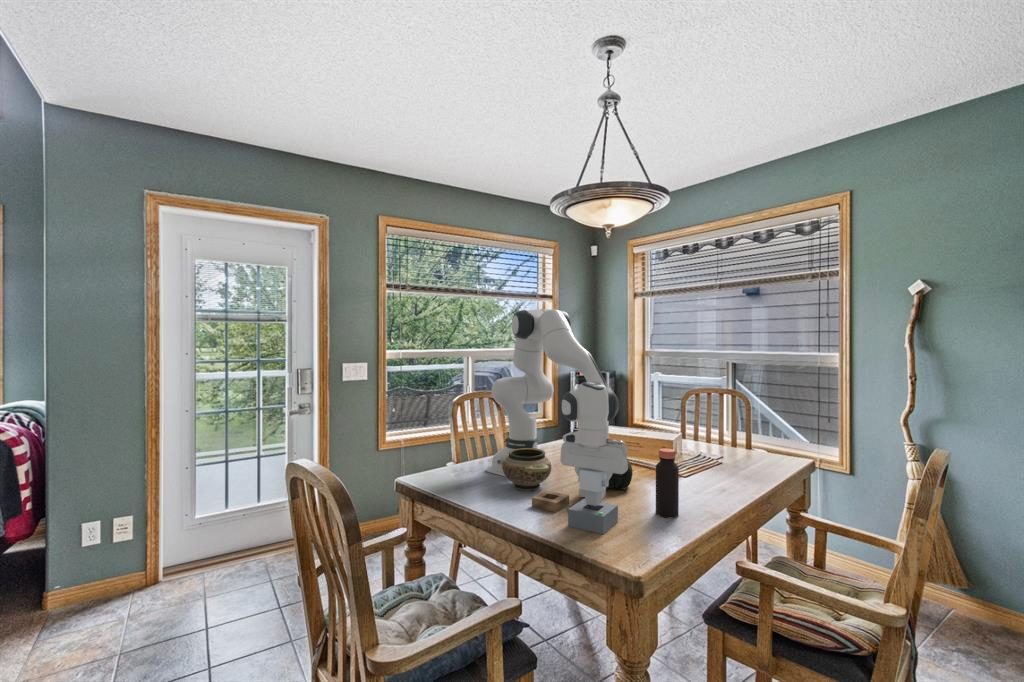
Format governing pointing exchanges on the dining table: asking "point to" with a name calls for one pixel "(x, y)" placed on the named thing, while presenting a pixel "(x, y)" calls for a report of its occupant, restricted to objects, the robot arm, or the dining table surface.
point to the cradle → (550, 501)
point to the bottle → (667, 484)
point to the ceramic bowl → (526, 468)
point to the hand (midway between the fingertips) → (593, 484)
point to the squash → (621, 478)
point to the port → (593, 516)
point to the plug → (592, 485)
